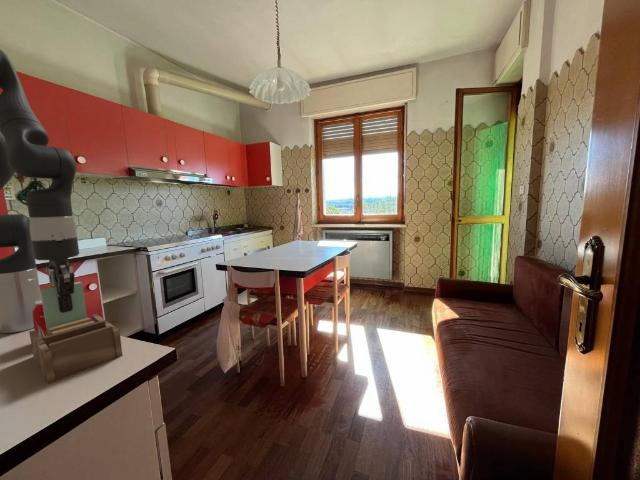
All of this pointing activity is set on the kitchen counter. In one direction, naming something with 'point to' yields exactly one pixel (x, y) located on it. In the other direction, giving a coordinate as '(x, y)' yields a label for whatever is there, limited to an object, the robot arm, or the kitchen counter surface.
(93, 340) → the rack
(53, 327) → the pine offcut
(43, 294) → the sage board
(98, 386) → the kitchen counter surface
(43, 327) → the soda can
